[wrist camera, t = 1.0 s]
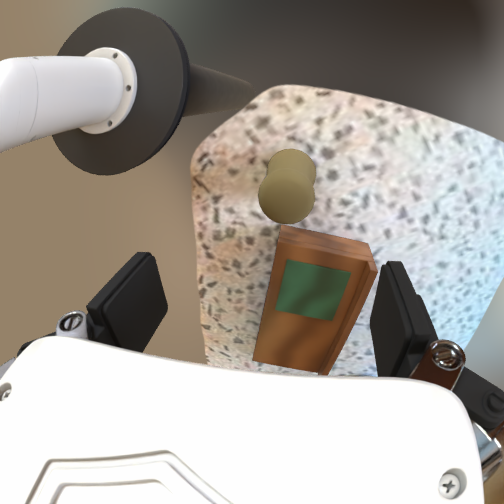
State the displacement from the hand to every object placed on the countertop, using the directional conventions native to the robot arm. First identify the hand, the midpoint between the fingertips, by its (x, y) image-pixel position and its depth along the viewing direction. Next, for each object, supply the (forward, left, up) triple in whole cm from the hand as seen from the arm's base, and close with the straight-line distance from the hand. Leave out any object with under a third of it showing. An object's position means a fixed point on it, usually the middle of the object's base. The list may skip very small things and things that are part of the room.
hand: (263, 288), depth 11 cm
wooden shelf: (+6, -20, -26) cm, 33 cm away
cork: (0, -2, -26) cm, 26 cm away
